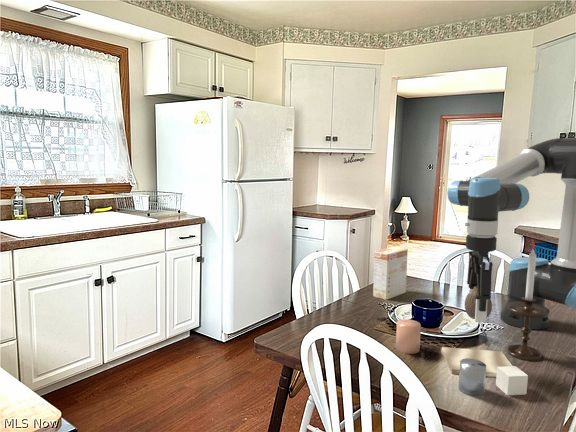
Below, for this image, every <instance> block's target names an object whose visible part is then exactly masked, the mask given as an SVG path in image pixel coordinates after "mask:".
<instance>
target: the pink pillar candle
mask: <svg viewBox="0 0 576 432" xmlns="http://www.w3.org/2000/svg"><path fill="white" fill-rule="evenodd" d="M421 328H422V325H421V323H420V322H419V321H417V320H413V319H410V318H409V319H406V318H402V319H399V320H397V321H396V333H395V349H396V350H397V351H398V352H400V353H403V354H409V355H414V354H417V353H419V352H420V348H421V347H420V346H421V330H422V329H421Z"/></svg>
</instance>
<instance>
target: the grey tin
mask: <svg viewBox="0 0 576 432" xmlns="http://www.w3.org/2000/svg"><path fill="white" fill-rule="evenodd" d="M486 377H487V376H486V364H485V363H483V362H482V361H479V360H476V359H471V358H465V359H462V360H461V361H460V372H459V374H458V387H457V388H458V390H459V391H460V392H461V393H462V394H464V395H465V396H469V397H478V398H479V397H482V396H484V395H485V391H486V390H485V388H486Z"/></svg>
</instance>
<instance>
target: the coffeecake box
mask: <svg viewBox="0 0 576 432" xmlns="http://www.w3.org/2000/svg"><path fill="white" fill-rule="evenodd" d="M373 258H374V259H373V260H374V261H373V289H372V292H373V293H372V296H373V297H375V298H379V299H382V300H385V301H387V300H389V299H393V298H395V297H398V296H401V295H403V294H405V293H406V292H407V275H408V274H407V273H408V272H407V271H408V248H405V247H404V248H403V247H399V246H391V247H387V248H383V249H379V250H374V257H373Z"/></svg>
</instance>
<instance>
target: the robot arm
mask: <svg viewBox="0 0 576 432" xmlns="http://www.w3.org/2000/svg"><path fill="white" fill-rule="evenodd" d="M542 174H559V175H561V177H560V180H561V181H562V183H564V184H565V187H564V188H565V189H564V195H563V196H564V197H563V205H562V211H561V222H560V227H559V229H560V230H559V236H558V242H557V243H558V244H557V250H556V252H557V253H556V257H555V258H553V259H551V261H550V262H549V260H548V259H547V258H543V257H542V258H541V257H536V265H535V276H534V287H533V298H534V299H536V300H537V301H533V303H534V304H538V305H541V306H544V307H546V304H545V302H546V301H550V302H554V303H556V304H557V303H558V304H561V305H564V306H566V307H567V308H568V307H572V308H574V309H575V308H576V137H567V138H566V137H565V138H563V137H562V138H560V137H559V138H553V139H548V140H545V141H542V142H539V143H536V144H534V145H532V146H530V147H529V146H528V147H527V148H525V149H523V150H521V151H520V152H519V153H518V154H517V156H516V157H515V156H514V158H511V159H509V160H507V161H505V162H503V163H501V164H499V165H497V166H495V167H493V168H491V169H488V170H487V171H484V172H482V173H481V174H478V175H476V176H474V177H472V178H470V179H468V180H454V181H452V182H451V183H450V184H449V185H448V188H447V192H446V193H447V200H448V201H449V202H450V203H451V204H453V205H456V206H460V207H467V219H466V221H467V222H465V223H464V225H465V227H466V233H467V235H466V236H465V237H466V238H465V248H466V249H467V250H469V252H468V269H467V279H466V284H467V286H468V294H469V293H470V292H471V291H472V290H473V288H474V287H475V286H477V294H478V296H477V297H475V299H476V309H475V319H474V322H475V323H487V319H488V317H487V301H488V299H491V298H492V273H493V272H492V271H493V265H494V264H493V262H492V261H491V258H490V257H489V253H490V252H494V251H496V250H497V239H498V238H497V237H496V235H498V230H499V229H498V227H499V212H500V213H501V212H509V211H511V212H514V211H518V210H521V209H524V208H525V207H526V206H527V205H528V203H529V201H530V192H529V189H528V188H527V187H526V186H525V185H523V184H521V183H519V182H521V181H522V180H524V179H527V178H528V177H538V176H540V175H542ZM528 261H529V257H519V258H514V259H512V260H511V261H510V266H509V271H508V273H509V274H508V287H507V298H506V300H505V302H504V304H503V306H502V308H501V310H500V317H499V318H500V319H501V321H503V322H504V323H506V324H507V325H511V326H513V327H516V328H520V329H521V328H522V327H524V318H525V316H521V315H518V314H515V313H512V312H510V311H509V310H508V309H507V305H508V303H510V302H525V300H523V299H521V298H522V297H525V295H526V284H527V272H528ZM491 300H492V299H491ZM545 300H546V301H545ZM549 321H550V319H549V316H547V317H544V318H533V317H530V321H529V328H530V329H531V330H544V329H547V328H548V327H549Z"/></svg>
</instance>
